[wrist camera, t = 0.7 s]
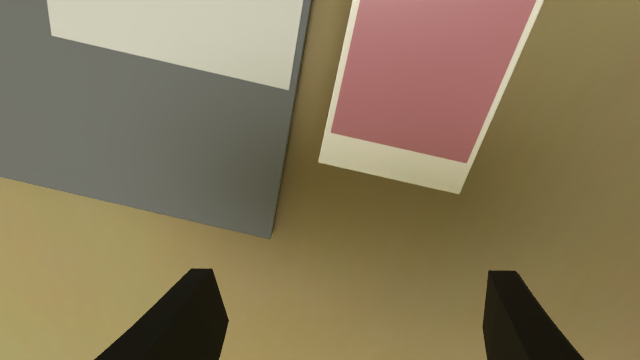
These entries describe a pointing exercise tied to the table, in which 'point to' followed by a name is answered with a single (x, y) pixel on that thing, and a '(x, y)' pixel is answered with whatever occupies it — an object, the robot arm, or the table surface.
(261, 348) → the table surface
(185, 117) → the mat
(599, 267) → the table surface
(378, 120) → the card deck
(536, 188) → the table surface
